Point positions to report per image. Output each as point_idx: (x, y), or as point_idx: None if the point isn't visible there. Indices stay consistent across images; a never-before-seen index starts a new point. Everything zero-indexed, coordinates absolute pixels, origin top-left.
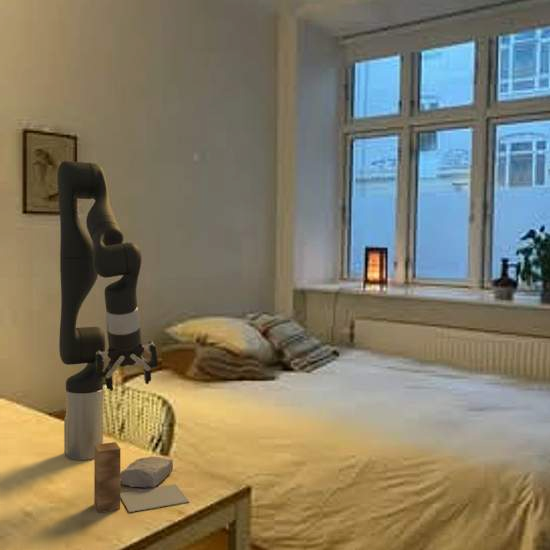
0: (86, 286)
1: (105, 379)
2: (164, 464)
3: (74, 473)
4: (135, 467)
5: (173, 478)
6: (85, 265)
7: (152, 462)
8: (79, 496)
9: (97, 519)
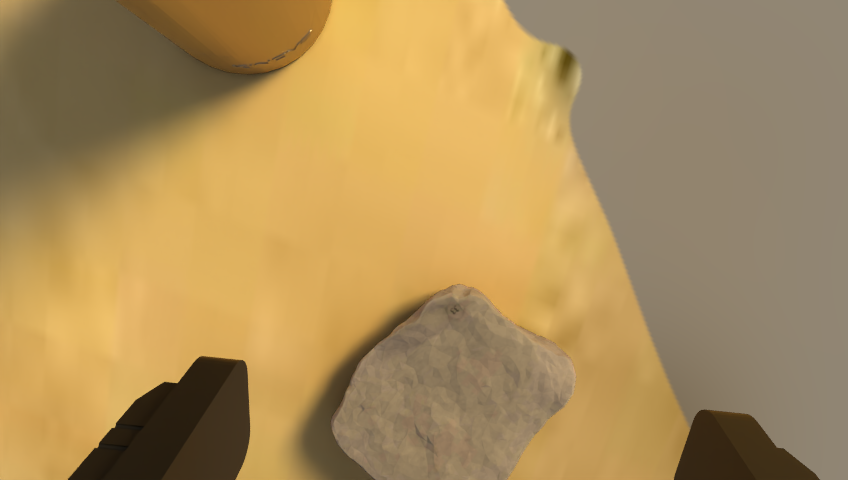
0: None
1: (74, 475)
2: (525, 433)
3: (168, 217)
4: (392, 456)
5: None
6: None
7: (482, 398)
8: None
9: None
